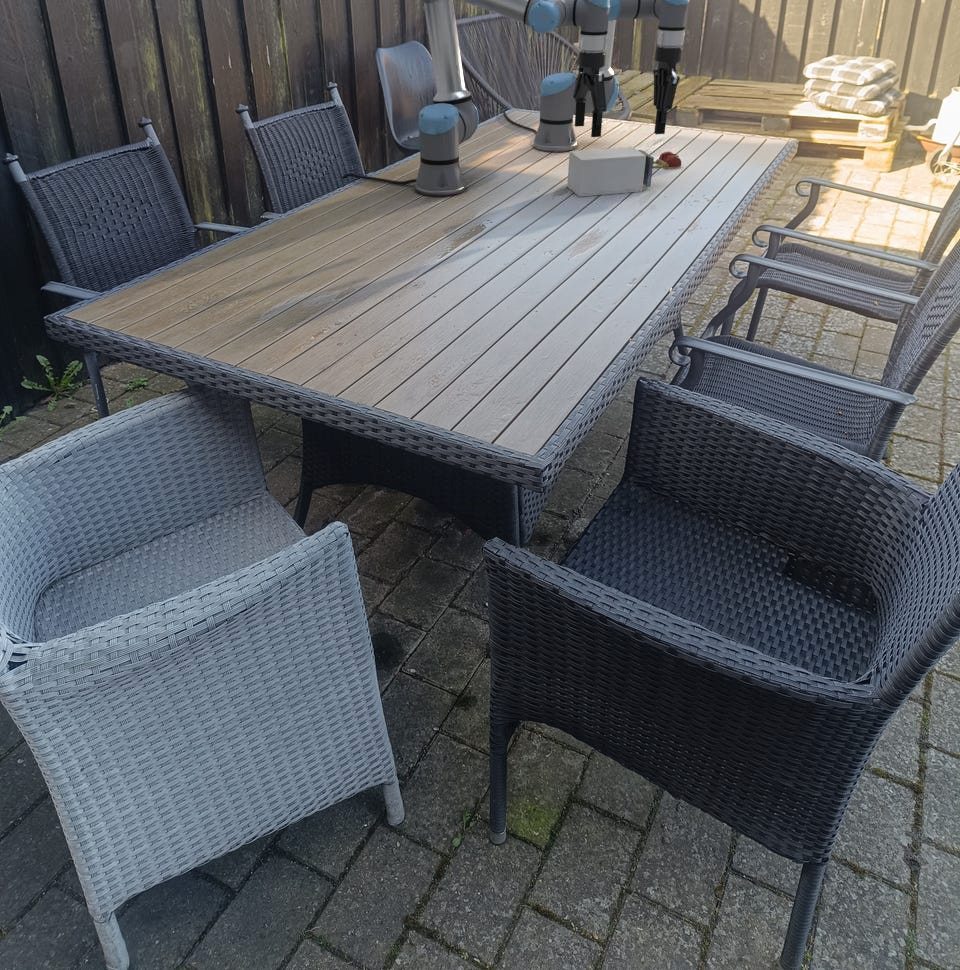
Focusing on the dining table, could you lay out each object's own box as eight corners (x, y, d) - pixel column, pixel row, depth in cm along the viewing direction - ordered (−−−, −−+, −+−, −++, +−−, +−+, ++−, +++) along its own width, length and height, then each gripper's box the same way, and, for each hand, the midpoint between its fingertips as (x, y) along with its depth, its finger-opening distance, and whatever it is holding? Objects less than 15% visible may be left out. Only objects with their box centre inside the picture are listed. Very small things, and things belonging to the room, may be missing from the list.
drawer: (656, 177, 266) (659, 148, 261) (669, 185, 259) (672, 156, 254) (580, 183, 261) (582, 153, 256) (591, 191, 254) (593, 161, 248)
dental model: (673, 148, 282) (683, 154, 275) (672, 161, 284) (682, 167, 278) (657, 149, 281) (667, 156, 274) (656, 162, 283) (666, 169, 277)
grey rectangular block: (628, 181, 265) (632, 146, 259) (642, 191, 257) (646, 155, 251) (567, 186, 261) (569, 151, 255) (579, 196, 253) (581, 160, 247)
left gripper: (622, 57, 226) (615, 140, 238) (589, 43, 246) (584, 121, 258) (596, 58, 225) (590, 142, 237) (564, 44, 244) (561, 122, 256)
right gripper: (692, 49, 236) (680, 137, 249) (671, 42, 246) (661, 127, 260) (667, 50, 234) (657, 139, 248) (647, 43, 244) (639, 129, 258)
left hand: (587, 131), depth 247 cm, fingers open, 13 cm apart
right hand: (659, 133), depth 254 cm, fingers closed
